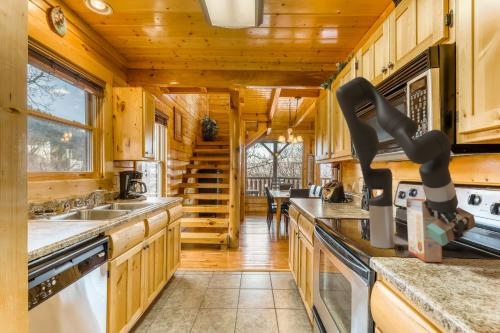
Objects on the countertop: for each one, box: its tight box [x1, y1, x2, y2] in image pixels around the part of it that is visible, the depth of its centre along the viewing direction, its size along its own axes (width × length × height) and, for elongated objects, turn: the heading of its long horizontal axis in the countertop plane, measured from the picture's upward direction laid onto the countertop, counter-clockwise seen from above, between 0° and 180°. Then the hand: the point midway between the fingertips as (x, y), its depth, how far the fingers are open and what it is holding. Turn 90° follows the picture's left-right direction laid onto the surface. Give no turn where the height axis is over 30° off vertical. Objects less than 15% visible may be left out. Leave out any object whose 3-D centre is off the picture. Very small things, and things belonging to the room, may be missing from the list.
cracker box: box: [406, 198, 443, 263], centre depth 96 cm, size 14×6×21 cm, turn 168°
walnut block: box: [427, 206, 477, 246], centre depth 84 cm, size 5×5×12 cm
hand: (450, 232), depth 84 cm, fingers closed on walnut block, 5 cm apart
